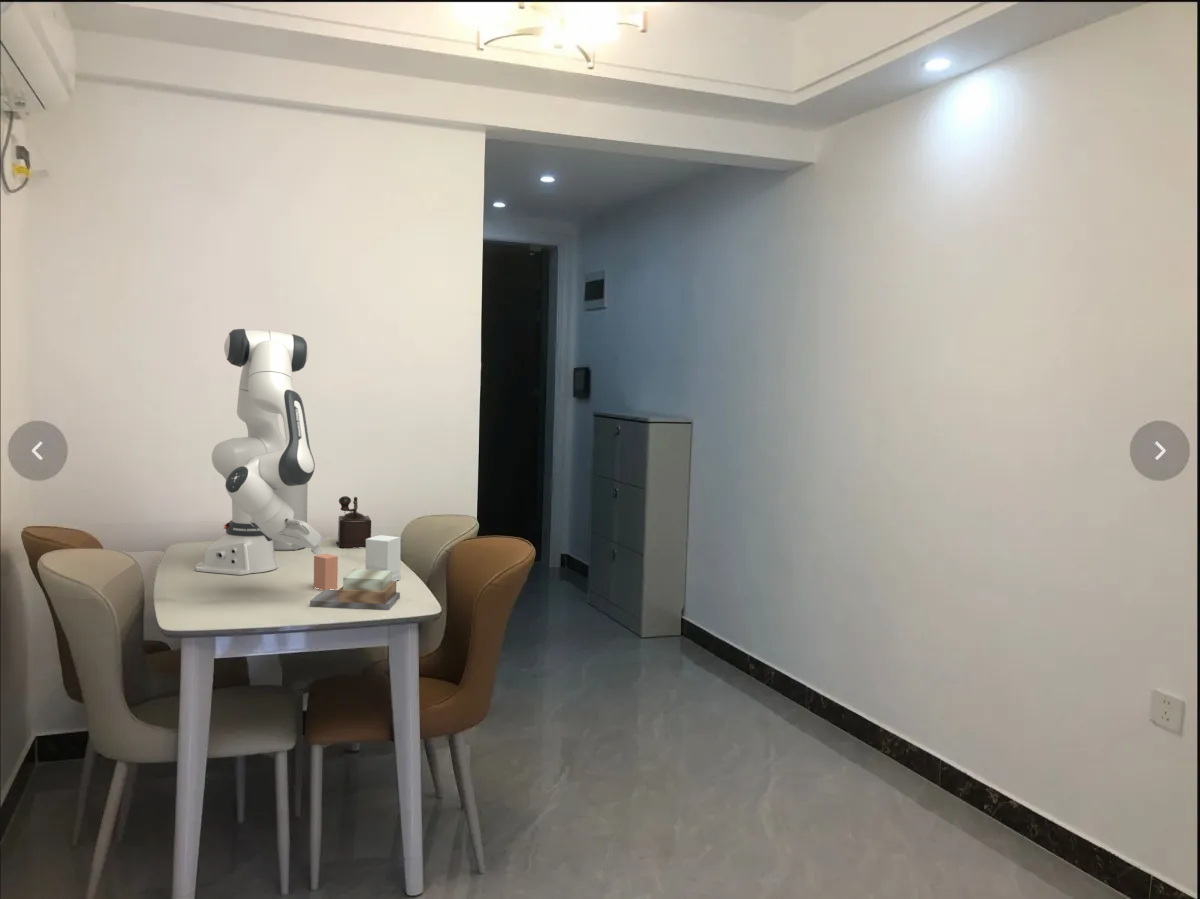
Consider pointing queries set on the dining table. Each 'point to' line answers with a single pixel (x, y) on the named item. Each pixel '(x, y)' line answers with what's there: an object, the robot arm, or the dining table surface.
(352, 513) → the manual coffee grinder
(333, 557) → the block
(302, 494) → the cylinder vase
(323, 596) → the build plinth
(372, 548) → the supplement box
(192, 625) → the dining table surface
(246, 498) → the robot arm
